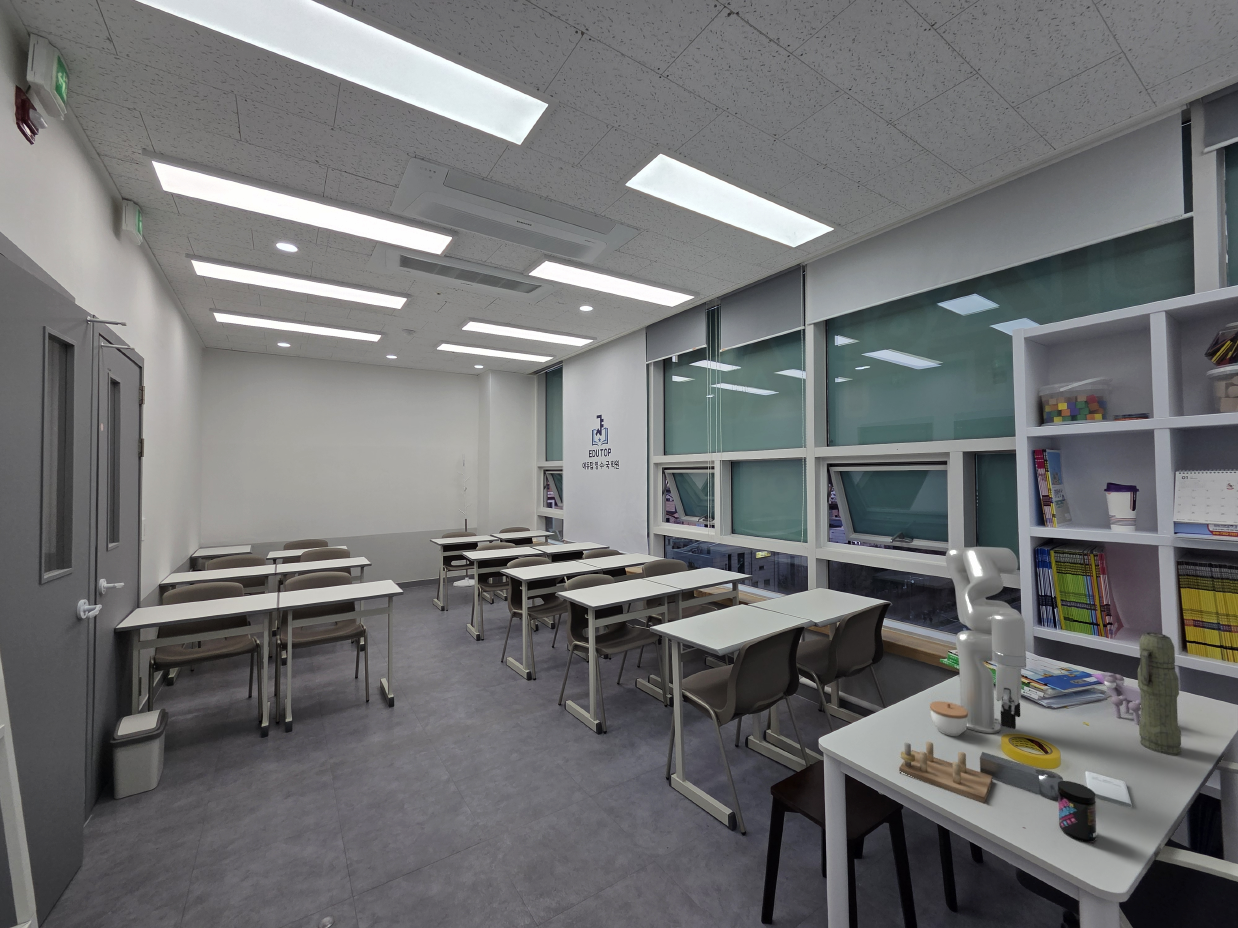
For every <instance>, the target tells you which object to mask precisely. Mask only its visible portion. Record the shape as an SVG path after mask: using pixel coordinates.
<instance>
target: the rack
mask: <svg viewBox="0 0 1238 928" xmlns="http://www.w3.org/2000/svg"><path fill="white" fill-rule="evenodd" d="M903 745H904V750H902V751H901V752H900V758H901V760H903V762H902V763H901V764H900V766H899V767H898V768H899V770H898V771H901V772H903V773H905V774H907V775H910V776H912V777H914V778H913V779H915V778H917V779H916V780H918V779H919V781H921V780H922V782H925V783H927V784H930V785H932V786H936V787H938V788H941V789H943V790H946V791H949V792H952V793H954V794H957V795H959V796H963V797H966V798H968V799H971V800H974V801H976V802H980V803H981V804H985V803H986V800H987V797H988V794H989V792H990V789H991V786H992V784H993V779H992V776H990V775H987V774H984V773H981V772H980V771H978V770H974V769H971V768H969V767H967V754H966V753H965V752H963V751H958V752H957V756H958V759H957V760H958V762H956V761H953V762H950V761H947V760H944V759H941V758H937V757H934V743H933V742H932V741H926V742H925V747H926V748H925V750H926V751H923V750H920V751H916V750H914V749H912V745H911V743H908V742H904V744H903ZM907 775H906V776H907ZM910 776H909V777H910ZM912 777H911V778H912Z"/></svg>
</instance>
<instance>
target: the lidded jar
mask: <svg viewBox="0 0 1238 928" xmlns="http://www.w3.org/2000/svg"><path fill="white" fill-rule="evenodd" d="M929 710H930V712H929V713H930V718H931V720H932V723H933V724H934V726H935V728H936V729H938V732H940V733H941V732H942V734H944V735H946V736H949V737H950V736H951V737H958V736H960V735H961V734H963V733H964V732H965V731H966V730H967V728H966V727H967V722H968V711H967V710H966V709H965V708H963V707H962V706H960V704H959V705H958V704H956V703H953V702H949V701H943V700H941V701H940V700H938V701H932V702H931V703H930V704H929Z"/></svg>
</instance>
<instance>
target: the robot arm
mask: <svg viewBox="0 0 1238 928" xmlns="http://www.w3.org/2000/svg"><path fill="white" fill-rule="evenodd" d="M945 563H946V568H947V571H948V573H949V576H950V577H951V580H952V582H953V585H954V589H955V601H956V608H957V609H956V611H957V615H958V616H957V617H958V619H959V622H960V623H961V624H963V625H964V626H967V628H968V629H970V630H961V631H960V632H958V633H957V634H956V636H955V646H956V651H957V656H958V665H959V697H960V698H959V699H960V700H959V701H960V704H959V706H962V707H963V708H965V709H966V710H967V711H968V722H967V727H966V729H968V730H971V731H974V732H977V733H978V732H979V733H984V734H996V733H998V732H1000V731H1001V727H1004V728H1008V729H1012V730H1016V728H1017V723H1016V722H1017V721H1016V718H1020V717H1021V702H1020V700H1021V697H1022V686H1023V685H1022V670H1023V669H1026V668H1027V650H1026V649H1027V648H1026V644H1027V642H1026V623H1025V620H1024V616H1023V615H1022V614H1021V613H1020V612H1019V611H1018V610H1017V609H1014V608H1012V607H1011V606H1010V605H1009V604H1008V603H1007V602H1005V601H1002V600H991V599H986V598H988V597H991V596H995V595H997V594H998V593H1000V592H1001V591H1002V590H1003V588H1004V580H1003V578H1002V575H1001V574H1003V575H1013V574H1015V573H1017V571H1018V567H1019V564H1018V558H1017V556H1016V554H1015V553H1014V552H1013V551H1012V550H1011V549H1010V548H1008V547H994V546H993V547H992V546H974V547H962V546H961V547H952V548H950V549H948V550H947V551H946V554H945ZM985 662H991V663H993V664H995V665H996V666H995V667H996V669H995V681H994V674H993V672H992V671H991V669H990V668H989V667H988V666H987V665H986V663H985ZM994 682H995V686H994ZM994 690H995V691H994ZM995 700H996V701H997V702H1001V707H1000V723H999V722H998V721H996V720H995Z"/></svg>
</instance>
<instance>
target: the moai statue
mask: <svg viewBox="0 0 1238 928" xmlns="http://www.w3.org/2000/svg"><path fill="white" fill-rule="evenodd" d="M1138 643H1139V658H1140V659H1139V665H1138V669H1137V687H1138V689H1140V695H1141V705H1140V707H1141V710H1140V714H1141V718H1140V721H1139V725H1138V730H1139V731H1138V733H1139V737H1140V741H1139V742H1140V744H1141V746H1142V747H1144V748H1146V749H1148V750H1151V751H1152V752H1156V753H1160V754H1164V755H1168V756H1180V755H1181V754H1182V753H1181V746H1182V732H1181V729H1180V727H1179V720H1178V717H1179V716H1178V697H1179V695H1180V687H1179V686H1180V683H1179V681H1180V679H1179V676H1178V674H1177V671H1176V666H1175V663H1176V658H1175V657H1176V654H1175V653H1176V652H1175V644H1174V643H1173V641H1172V638H1171V637H1169V636H1168V635H1166V634H1162V633H1158V632H1151V631H1149V632H1148V631H1147V632H1144V633H1142V635H1141V637H1140V638H1139V642H1138Z"/></svg>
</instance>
